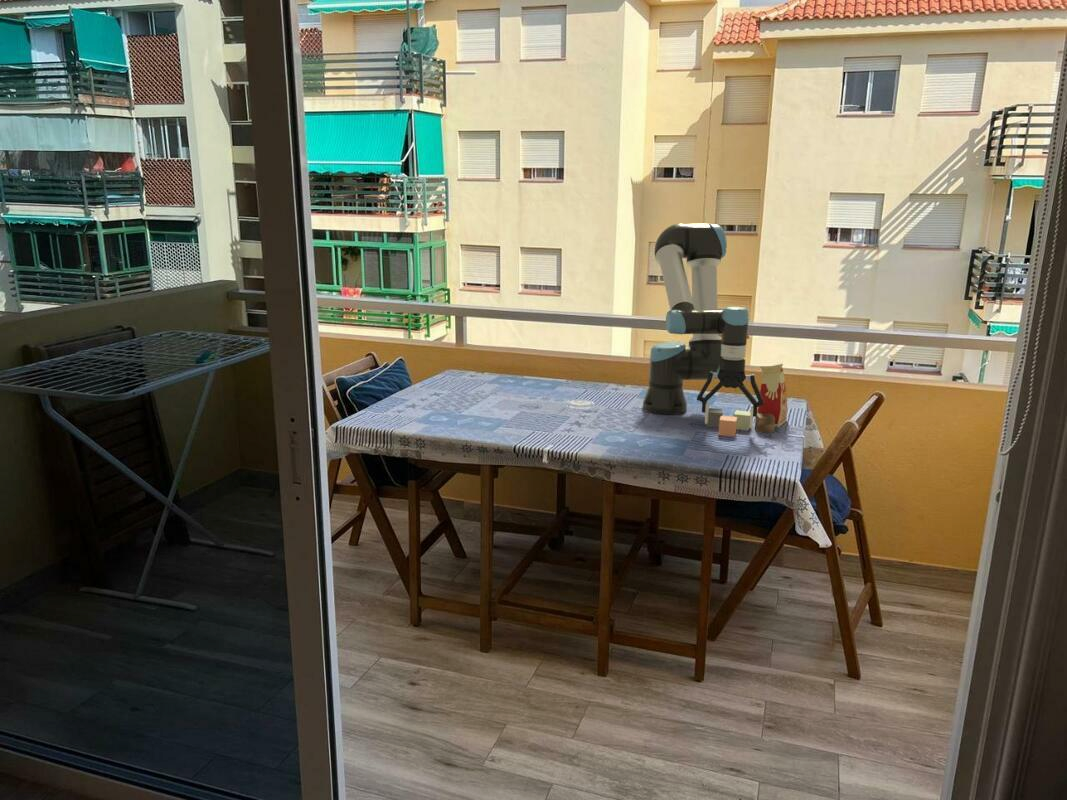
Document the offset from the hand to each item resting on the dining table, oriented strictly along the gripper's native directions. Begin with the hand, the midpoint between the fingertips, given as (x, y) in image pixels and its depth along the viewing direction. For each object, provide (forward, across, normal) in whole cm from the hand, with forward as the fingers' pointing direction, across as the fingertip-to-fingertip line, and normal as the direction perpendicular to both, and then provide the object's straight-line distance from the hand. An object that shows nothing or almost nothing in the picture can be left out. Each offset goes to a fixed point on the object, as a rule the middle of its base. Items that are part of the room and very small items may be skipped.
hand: (728, 424), depth 243 cm
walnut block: (+3, +11, +8) cm, 13 cm away
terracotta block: (+3, 0, 0) cm, 3 cm away
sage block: (+3, +4, +8) cm, 10 cm away
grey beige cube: (+3, -5, +8) cm, 10 cm away
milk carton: (+3, +12, +18) cm, 22 cm away
